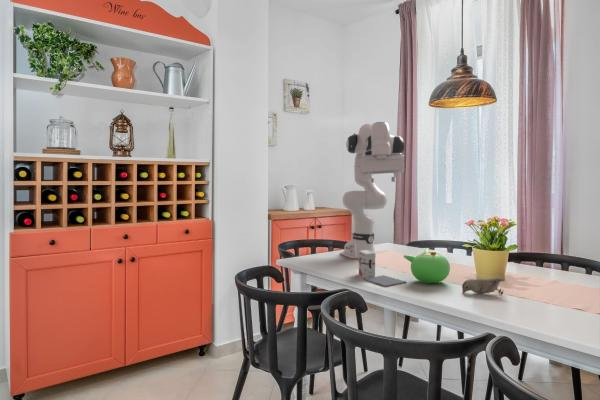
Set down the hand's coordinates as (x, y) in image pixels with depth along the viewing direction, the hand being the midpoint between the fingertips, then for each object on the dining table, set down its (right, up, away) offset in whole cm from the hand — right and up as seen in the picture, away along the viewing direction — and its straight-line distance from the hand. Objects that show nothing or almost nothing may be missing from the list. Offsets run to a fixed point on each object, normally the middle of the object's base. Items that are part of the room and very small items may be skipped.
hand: (382, 181), depth 194 cm
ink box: (-6, -45, +10) cm, 47 cm away
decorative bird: (+38, -48, -18) cm, 64 cm away
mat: (+1, -46, 0) cm, 46 cm away
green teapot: (+21, -46, -1) cm, 51 cm away
